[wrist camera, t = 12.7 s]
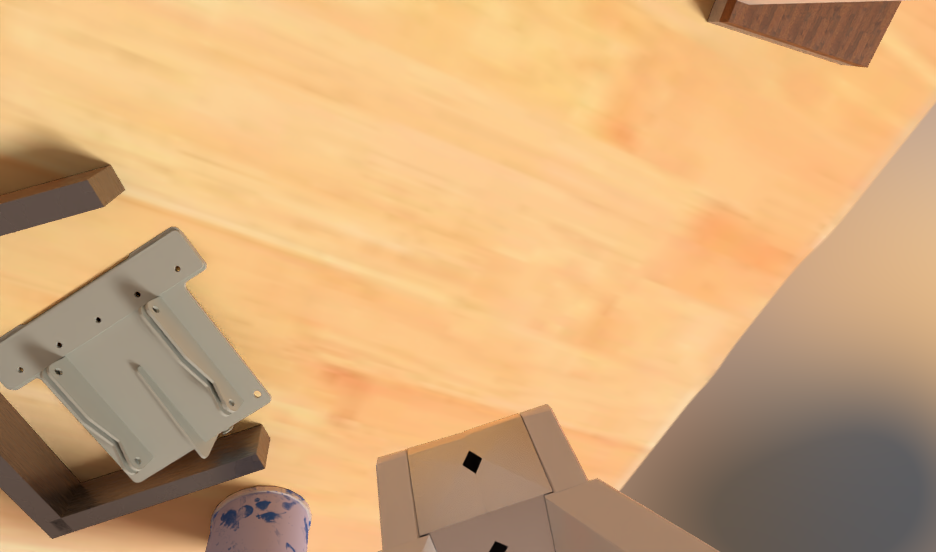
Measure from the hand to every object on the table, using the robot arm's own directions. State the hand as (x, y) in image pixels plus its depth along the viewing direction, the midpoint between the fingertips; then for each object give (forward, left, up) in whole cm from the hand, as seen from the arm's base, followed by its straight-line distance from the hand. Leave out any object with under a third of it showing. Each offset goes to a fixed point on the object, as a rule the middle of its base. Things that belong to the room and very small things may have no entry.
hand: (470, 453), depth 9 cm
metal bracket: (+10, -19, -27) cm, 34 cm away
